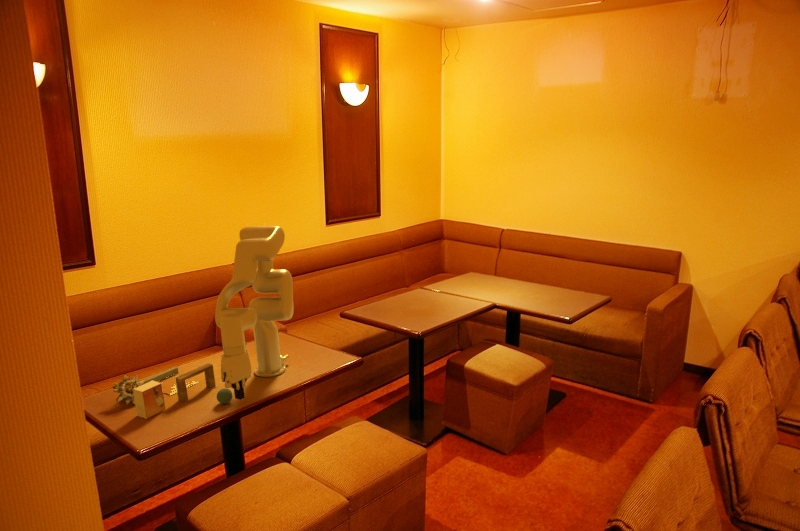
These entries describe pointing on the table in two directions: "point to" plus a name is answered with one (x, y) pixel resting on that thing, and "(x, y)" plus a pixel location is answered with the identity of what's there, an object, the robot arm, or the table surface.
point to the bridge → (181, 379)
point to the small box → (149, 399)
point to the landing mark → (186, 387)
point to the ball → (224, 396)
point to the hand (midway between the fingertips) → (239, 398)
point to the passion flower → (127, 389)
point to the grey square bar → (162, 375)
